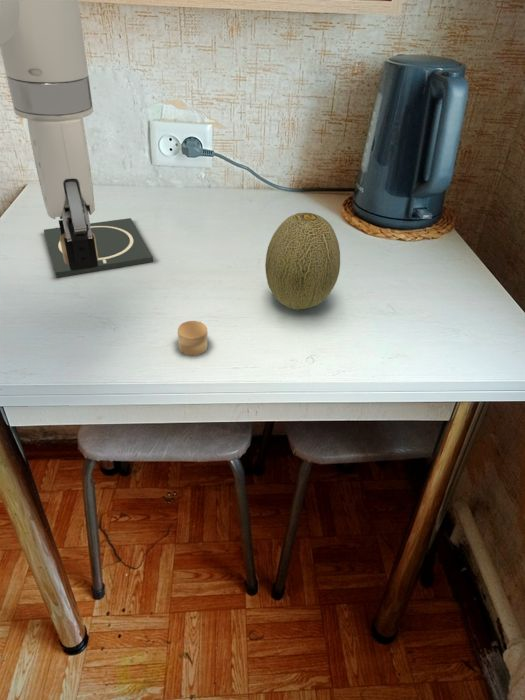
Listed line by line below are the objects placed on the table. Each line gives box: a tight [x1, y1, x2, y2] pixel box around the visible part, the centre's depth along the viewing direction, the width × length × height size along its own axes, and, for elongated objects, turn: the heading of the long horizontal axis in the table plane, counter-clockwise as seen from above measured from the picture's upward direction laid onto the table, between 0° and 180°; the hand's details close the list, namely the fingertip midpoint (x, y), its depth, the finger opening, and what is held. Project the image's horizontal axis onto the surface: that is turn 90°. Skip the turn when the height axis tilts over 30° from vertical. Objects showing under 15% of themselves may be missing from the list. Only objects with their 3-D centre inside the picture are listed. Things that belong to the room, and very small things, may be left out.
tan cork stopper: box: [177, 320, 208, 356], centre depth 70 cm, size 4×4×3 cm
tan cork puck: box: [60, 233, 98, 266], centre depth 61 cm, size 4×4×3 cm
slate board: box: [43, 217, 154, 278], centre depth 91 cm, size 16×16×1 cm
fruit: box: [264, 212, 341, 310], centre depth 76 cm, size 11×11×15 cm
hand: (80, 257), depth 62 cm, fingers closed on tan cork puck, 4 cm apart
